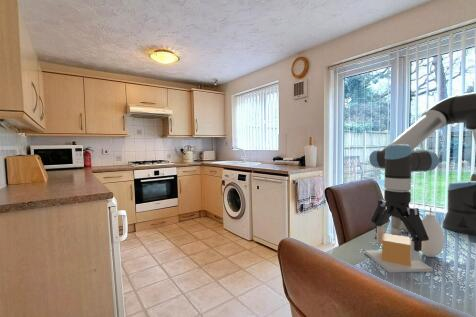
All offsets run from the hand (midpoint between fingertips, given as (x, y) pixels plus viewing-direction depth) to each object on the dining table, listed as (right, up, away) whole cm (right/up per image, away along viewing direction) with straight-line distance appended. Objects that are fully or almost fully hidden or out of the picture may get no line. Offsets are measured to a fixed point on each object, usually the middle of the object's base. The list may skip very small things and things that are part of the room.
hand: (396, 251), depth 82 cm
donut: (+24, -2, +28) cm, 37 cm away
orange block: (0, -3, 0) cm, 3 cm away
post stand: (+12, -3, +17) cm, 21 cm away
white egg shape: (+15, -4, +4) cm, 16 cm away
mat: (0, -4, 0) cm, 4 cm away
